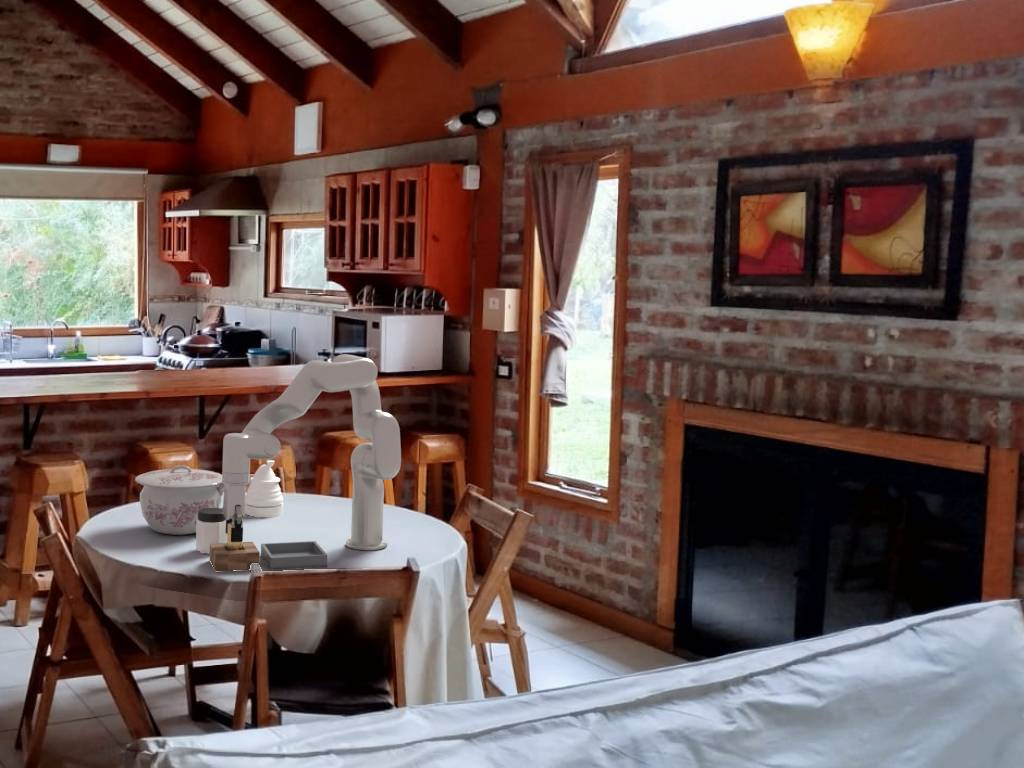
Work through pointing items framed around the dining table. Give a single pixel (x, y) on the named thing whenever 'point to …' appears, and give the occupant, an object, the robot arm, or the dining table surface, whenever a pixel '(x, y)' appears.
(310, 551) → the tray
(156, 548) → the dining table surface
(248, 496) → the honey pot
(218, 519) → the jar
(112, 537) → the dining table surface
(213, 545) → the socket block
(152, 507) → the chamber pot
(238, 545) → the brass pin
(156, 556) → the dining table surface
